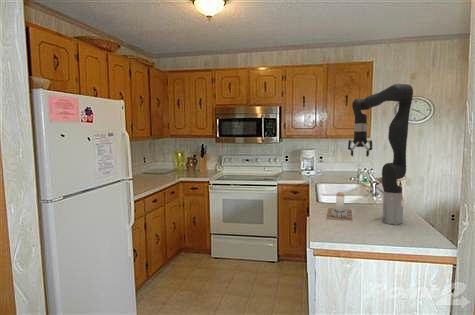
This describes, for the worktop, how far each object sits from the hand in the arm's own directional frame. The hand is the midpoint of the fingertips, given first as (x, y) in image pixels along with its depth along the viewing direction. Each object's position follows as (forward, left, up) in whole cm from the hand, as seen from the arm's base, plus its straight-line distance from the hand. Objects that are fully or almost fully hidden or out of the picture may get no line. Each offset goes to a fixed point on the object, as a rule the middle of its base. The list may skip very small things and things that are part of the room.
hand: (359, 156), depth 204 cm
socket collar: (-7, +26, -33) cm, 42 cm away
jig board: (-4, +23, -34) cm, 41 cm away
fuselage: (-7, +26, -33) cm, 42 cm away
